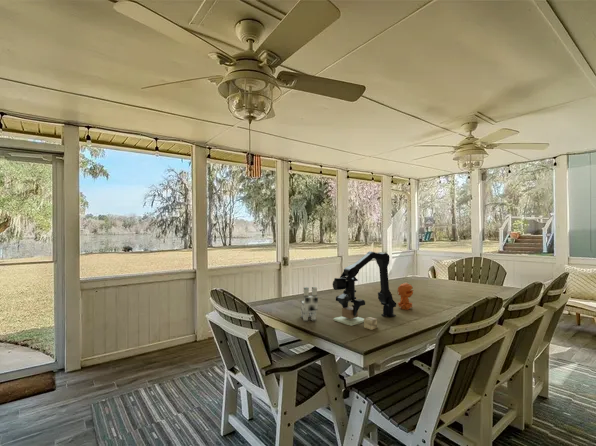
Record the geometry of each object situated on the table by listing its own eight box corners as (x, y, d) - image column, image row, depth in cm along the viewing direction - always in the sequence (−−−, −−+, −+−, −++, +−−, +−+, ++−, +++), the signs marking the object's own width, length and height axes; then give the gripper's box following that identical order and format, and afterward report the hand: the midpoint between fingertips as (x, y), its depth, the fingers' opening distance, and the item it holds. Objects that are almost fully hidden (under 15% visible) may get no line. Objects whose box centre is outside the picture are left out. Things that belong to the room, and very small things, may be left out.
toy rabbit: (311, 315, 199) (311, 283, 199) (318, 323, 181) (317, 288, 182) (300, 315, 197) (300, 283, 198) (305, 323, 180) (305, 289, 181)
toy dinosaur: (416, 310, 209) (416, 283, 209) (400, 310, 209) (399, 283, 209) (410, 306, 220) (410, 280, 220) (395, 306, 220) (395, 280, 220)
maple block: (369, 325, 177) (369, 317, 177) (377, 328, 173) (377, 319, 173) (364, 327, 173) (364, 318, 174) (371, 329, 170) (371, 320, 170)
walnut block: (349, 314, 191) (349, 306, 191) (357, 316, 186) (357, 308, 186) (342, 316, 187) (342, 308, 187) (350, 318, 182) (350, 310, 182)
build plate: (349, 316, 196) (349, 314, 196) (366, 321, 185) (366, 319, 185) (333, 320, 187) (333, 318, 187) (351, 325, 176) (351, 323, 176)
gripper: (329, 288, 189) (329, 314, 188) (352, 292, 174) (353, 321, 174) (341, 285, 196) (342, 310, 195) (365, 290, 181) (365, 317, 181)
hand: (350, 314), depth 186 cm, fingers closed on walnut block, 6 cm apart
